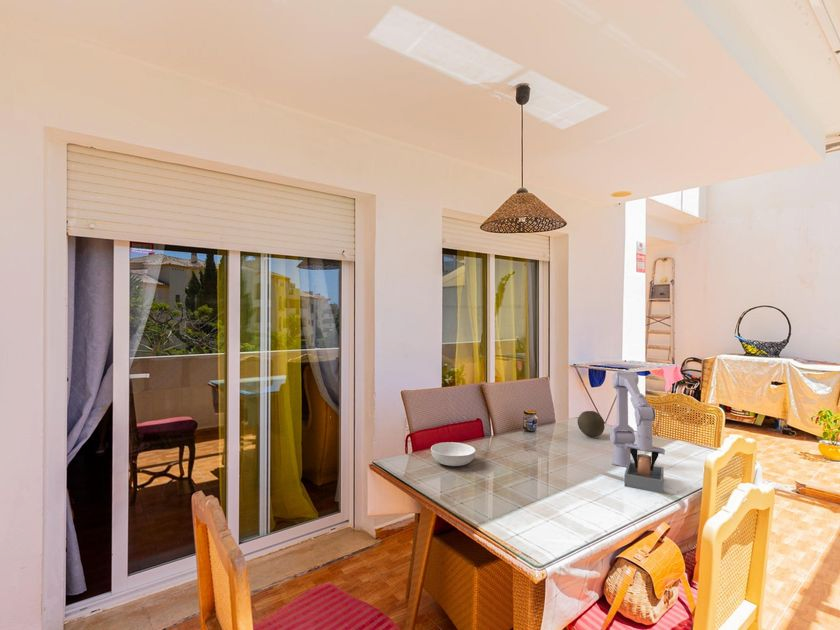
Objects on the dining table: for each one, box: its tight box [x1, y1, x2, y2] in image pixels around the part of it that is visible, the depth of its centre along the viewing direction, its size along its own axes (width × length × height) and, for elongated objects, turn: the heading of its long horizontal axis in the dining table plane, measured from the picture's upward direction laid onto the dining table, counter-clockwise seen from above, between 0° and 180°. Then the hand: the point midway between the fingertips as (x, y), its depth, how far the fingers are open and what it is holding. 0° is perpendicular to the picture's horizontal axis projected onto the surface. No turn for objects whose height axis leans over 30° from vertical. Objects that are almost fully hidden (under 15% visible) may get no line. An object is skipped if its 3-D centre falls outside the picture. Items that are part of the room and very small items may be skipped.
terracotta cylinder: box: [637, 453, 651, 475], centre depth 177 cm, size 5×5×7 cm
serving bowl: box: [430, 441, 477, 467], centre depth 201 cm, size 21×21×7 cm
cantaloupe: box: [576, 410, 605, 438], centre depth 246 cm, size 14×14×15 cm
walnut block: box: [638, 471, 652, 478], centre depth 183 cm, size 5×5×5 cm
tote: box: [624, 461, 665, 494], centre depth 180 cm, size 18×14×5 cm
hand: (644, 468), depth 177 cm, fingers closed on terracotta cylinder, 5 cm apart
